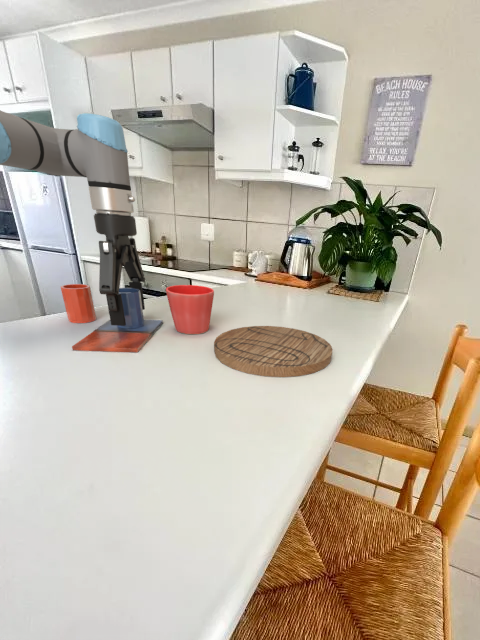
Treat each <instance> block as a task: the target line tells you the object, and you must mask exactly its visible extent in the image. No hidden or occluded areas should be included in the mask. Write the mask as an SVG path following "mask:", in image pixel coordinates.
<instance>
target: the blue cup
mask: <svg viewBox="0 0 480 640" xmlns="http://www.w3.org/2000/svg"><path fill="white" fill-rule="evenodd" d="M119 294H121V296H122V303H123V309H124V315H125V322H126V325H125V326H118V325H117V326H118V327H120V328H125V329H133V328H139V327H142V326H144V320H145V317H144V310H143V309H142V301H141V293H140V290H139V289H136V288H130V287H119Z"/></svg>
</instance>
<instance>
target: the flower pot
mask: <svg viewBox="0 0 480 640" xmlns="http://www.w3.org/2000/svg"><path fill="white" fill-rule="evenodd" d="M165 293H166V298H167V302H168V305H169V306H168V307H169V310H170V313H171V318H172V320H173V324H174V329H175V331H176V332H178V333H180V334H185V335H201V334H205V333H207V332H209V329H210V323H211V316H212V310H213V303H214V296H215V290H214V289H213V288H212V287H208V286H203V285H202V286H201V285H195V284H175V285H170V286H167V287H166V288H165Z"/></svg>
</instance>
